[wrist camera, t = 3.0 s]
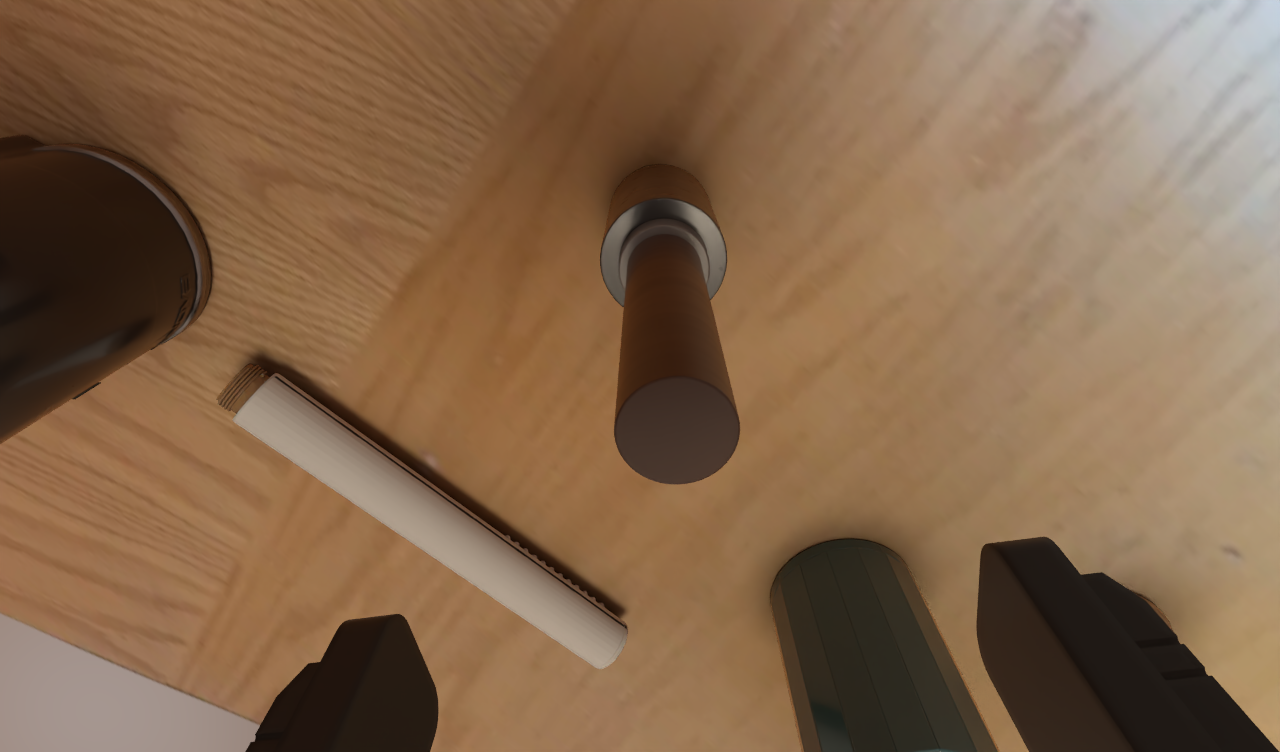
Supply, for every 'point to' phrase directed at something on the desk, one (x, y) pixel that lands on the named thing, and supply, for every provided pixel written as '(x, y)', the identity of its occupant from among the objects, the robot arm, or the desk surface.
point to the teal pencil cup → (868, 657)
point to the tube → (421, 513)
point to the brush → (669, 327)
